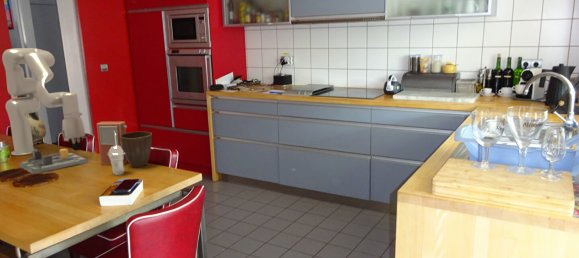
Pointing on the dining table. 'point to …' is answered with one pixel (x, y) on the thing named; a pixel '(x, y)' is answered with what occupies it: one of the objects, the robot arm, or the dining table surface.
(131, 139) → the plant pot
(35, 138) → the ceramic jug
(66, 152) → the block
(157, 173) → the dining table surface
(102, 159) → the control panel
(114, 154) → the cup with straw
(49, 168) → the breaker board
